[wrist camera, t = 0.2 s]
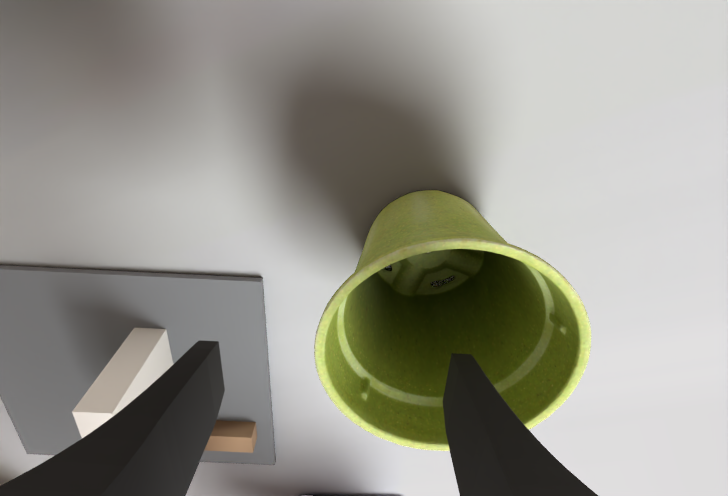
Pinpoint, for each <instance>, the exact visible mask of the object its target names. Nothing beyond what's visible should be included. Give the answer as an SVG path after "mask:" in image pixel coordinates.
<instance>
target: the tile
mask: <svg viewBox="0 0 728 496" xmlns="http://www.w3.org/2000/svg"><path fill="white" fill-rule="evenodd" d="M172 365H173V360H172V355H171V350H170V345H169V340H168V336H167V331H166V329H153V328H134V329H133V330H132V332H131V333H130V334H129V336H128V337H127V338H126V340H125V341H124V342H123V344H122V345H121V346H120V348H119V349H118V350H117V352H116V353H115V354H114V356H113V357H112V358H111V360H110V361H109V363H108V364H107V365H106V367H105V368H104V369H103V371H102V372H101V373H100V375H99V376H98V377H97V379H96V380H95V381H94V383H93V384H92V385H91V387H90V388H89V389H88V391H87V392H86V394H85V395H84V396H83V398H82V399H81V400H80V402H79V403H78V404H77V406H76V407H75V408H74V410H73V411H72V413H73V416H74V419H75V421H76V424H77V427H78V429H79V432H80V435H81V437H82V438H84V437H85V436H87V435H88V434H90V433H91V432H92V431H94V430H95V429H97V428H98V427H99V426H101V425H102V424H104V423H105V422H106V421H108V420H109V419H110V418H112V417H113V416H114V415H116V414H117V413H118V412H119V411H121V410H122V409H123V408H124V407H126V406H127V405H128V404H129V403H130V402H132V401H133V400H134V399H135V398H136V397H138V396H139V395H140V394H141V393H142V392H144V391H145V390H146V389H147V388H148V387H149V386H150V385H151V384H153V383H154V382H155V381H156V380H157V379H158V378H159V377H160V376H161V375H162V374H164V373H165V372H166V371H167V370H168V369H169V368H170V367H171V366H172Z"/></svg>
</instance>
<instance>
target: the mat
mask: <svg viewBox="0 0 728 496" xmlns="http://www.w3.org/2000/svg"><path fill="white" fill-rule="evenodd" d="M134 328H153V329H166V331H167V336H168V340H169V345H170V350H171V355H172V360H173V364H174V363H175V362H176V361H177V360H178V359H179V358H181V357H182V356H183V355H184V354H185V353H186V352H187V351H188V350H189V349H190V348H191V347H192V346H193V345H194V344H195V343H196V342H198V341H199V340H202V341H219V348H220V356H221V364H222V372H223V380H224V387H225V392H224V395H223V399H222V403H221V407H220V410H219V413H218V417H217V420H221V421H243V422H256V429H257V440H256V444H255V447H254V451H253V453H248V452H226V451H204V452H203V455H202V457H201V459H200V462H219V463H241V464H264V465H275V460H276V459H275V445H274V431H273V417H272V403H271V389H270V375H269V360H268V346H267V332H266V318H265V304H264V290H263V278H253V277H233V276H212V275H192V274H171V273H151V272H130V271H110V270H89V269H69V268H48V267H28V266H7V265H0V397H1V399H2V401H3V403H4V405H5V408H6V410H7V412H8V414H9V416H10V418H11V420H12V423H13V425H14V427H15V429H16V431H17V433H18V435H19V437H20V440H21V442H22V444H23V446H24V448H25V450H26V452H27V454H42V455H57V454H58V453H60V452H61V451H63V450H65V449H66V448H68V447H69V446H71V445H73V444H74V443H76V442H77V441H79V440H81V439H82V437H81V435H80V432H79V429H78V427H77V424H76V421H75V419H74V416H73V413H72V411H73V410H74V408H75V407H76V406H77V404H78V403H79V402H80V400H81V399H82V398H83V396H84V395H85V394H86V392H87V391H88V389H89V388H90V387H91V385H92V384H93V383H94V381H95V380H96V379H97V377H98V376H99V375H100V373H101V372H102V371H103V369H104V368H105V367H106V365H107V364H108V363H109V361H110V360H111V358H112V357H113V356H114V354H115V353H116V352H117V350H118V349H119V348H120V346H121V345H122V344H123V342H124V341H125V340H126V338H127V337H128V336H129V334H130V333H131V332H132V330H133V329H134Z"/></svg>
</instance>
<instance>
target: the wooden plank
mask: <svg viewBox="0 0 728 496" xmlns="http://www.w3.org/2000/svg"><path fill="white" fill-rule="evenodd" d="M256 440H257V429H256V422H243V421H221V420H216V423H215V426H214V428H213V431H212V433H211V435H210V438H209V440H208V443H207V445H206V447H205V450H204V451H226V452H248V453H253V451H254V447H255V444H256Z"/></svg>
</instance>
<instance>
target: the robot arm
mask: <svg viewBox="0 0 728 496" xmlns="http://www.w3.org/2000/svg"><path fill="white" fill-rule="evenodd" d="M224 392H225V387H224V380H223V372H222V364H221V356H220V348H219V341H202V340H199V341H198V342H196V343H195V344H194V345H193V346H192V347H191V348H190V349H189V350H188V351H187V352H186V353H185V354H184V355H183V356H182V357H181V358H179V359H178V360H177V361H176V362H175V363H174V364H173V365H172V366H171V367H170V368H169V369H168V370H167V371H166V372H165V373H164V374H162V375H161V376H160V377H159V378H158V379H157V380H156V381H155V382H154V383H153V384H151V385H150V386H149V387H148V388H147V389H146V390H145V391H144V392H142V393H141V394H140V395H139V396H138V397H136V398H135V399H134V400H133V401H132V402H130V403H129V404H128V405H127V406H126V407H124V408H123V409H122V410H121V411H119V412H118V413H117V414H116V415H114V416H113V417H112V418H110V419H109V420H108V421H106V422H105V423H104V424H102V425H101V426H99V427H98V428H97V429H95V430H94V431H92V432H91V433H90V434H88V435H87V436H85V437H84V438H82V439H81V440H79V441H77V442H76V443H74V444H73V445H71V446H69V447H68V448H66V449H65V450H63V451H61V452H60V453H58V454H57V455H55V456H54V457H52V458H50V459H49V460H47V461H45V462H44V463H42V464H40V465H38V466H37V467H35V468H33V469H31V470H29V471H28V472H26V473H24V474H22V475H20V476H18V477H17V478H15V479H13V480H11V481H9V482H7V483H5V484H3V485H1V486H0V496H185V495H186V493H187V490H188V488H189V485H190V483H191V481H192V478H193V476H194V474H195V471H196V469H197V466H198V464H199V462H200V459H201V457H202V455H203V452H204V450H205V447H206V445H207V443H208V440H209V438H210V435H211V433H212V431H213V428H214V426H215V423H216V420H217V417H218V413H219V410H220V407H221V403H222V399H223V395H224ZM443 410H444V420H445V429H446V435H447V440H448V444H449V449H450V453H451V458H452V462H453V467H454V471H455V475H456V480H457V484H458V488H459V493H460V496H598V495H597V494H595V493H594V492H593V491H592V490H591V489H589V488H588V487H587V486H586V485H585V484H584V483H582V482H581V481H580V480H579V479H578V478H577V477H576V476H574V475H573V474H572V473H571V472H570V471H569V470H567V469H566V468H565V467H564V466H563V465H562V464H561V463H560V462H559V461H558V460H557V459H556V458H555V457H554V456H553V455H552V454H551V453H550V452H549V451H548V450H547V449H546V448H545V447H544V446H543V445H542V444H541V443H540V442H539V441H538V440H537V439H536V438H535V436H534V435H533V434H532V433H531V432H530V431H529V430H528V429H527V427H526V426H525V425H524V424H523V423H522V422H521V420H520V419H519V418H518V417H517V416H516V414H515V413H514V412H513V411H512V409H511V408H510V407H509V406H508V404H507V403H506V402H505V400H504V399H503V398H502V397H501V395H500V394H499V393H498V391H497V390H496V388H495V387H494V386H493V384H492V383H491V381H490V380H489V379H488V377H487V376H486V374H485V373H484V371H483V370H482V369H481V367H480V366H479V364H478V363H477V361H476V360H475V358H474V357H473V356H472V355H471V354H457V353H451V359H450V364H449V369H448V375H447V380H446V386H445V391H444V396H443ZM302 496H311V495H302Z"/></svg>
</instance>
